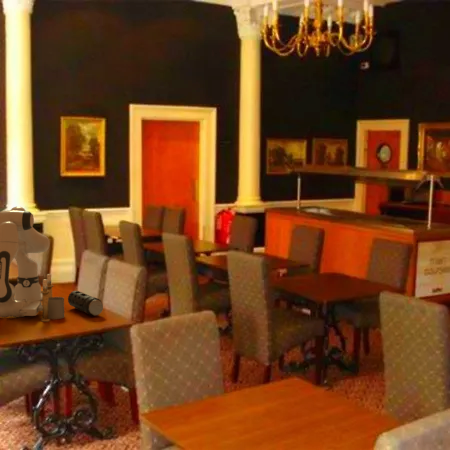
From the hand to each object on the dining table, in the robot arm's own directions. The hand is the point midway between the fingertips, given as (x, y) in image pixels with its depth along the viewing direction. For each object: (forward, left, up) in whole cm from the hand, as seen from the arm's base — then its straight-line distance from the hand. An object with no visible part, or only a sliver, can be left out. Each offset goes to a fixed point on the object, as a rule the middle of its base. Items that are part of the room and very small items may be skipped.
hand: (48, 308), depth 369 cm
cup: (0, +4, -5) cm, 7 cm away
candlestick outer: (+8, 0, -5) cm, 9 cm away
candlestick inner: (-8, 0, -5) cm, 10 cm away
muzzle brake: (-9, +19, -5) cm, 21 cm away
